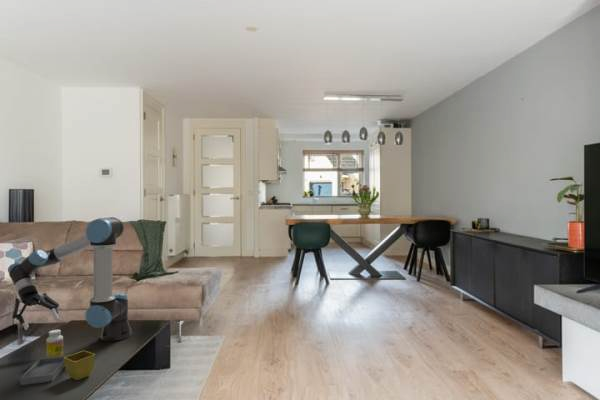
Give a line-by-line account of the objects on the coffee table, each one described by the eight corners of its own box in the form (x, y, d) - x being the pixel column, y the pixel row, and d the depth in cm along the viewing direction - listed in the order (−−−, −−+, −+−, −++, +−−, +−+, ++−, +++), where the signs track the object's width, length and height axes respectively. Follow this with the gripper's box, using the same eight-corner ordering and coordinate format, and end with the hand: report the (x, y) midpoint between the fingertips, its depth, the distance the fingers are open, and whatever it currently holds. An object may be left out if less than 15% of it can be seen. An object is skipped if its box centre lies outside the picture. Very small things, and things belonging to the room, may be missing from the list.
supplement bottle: (55, 362, 180) (54, 334, 180) (43, 361, 181) (42, 333, 181) (66, 356, 186) (66, 329, 186) (54, 355, 188) (54, 328, 188)
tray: (68, 361, 180) (68, 355, 180) (52, 381, 160) (52, 374, 160) (39, 364, 177) (39, 358, 177) (20, 385, 157) (20, 378, 157)
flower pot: (74, 384, 158) (74, 361, 158) (63, 379, 162) (62, 357, 162) (96, 375, 165) (95, 354, 165) (84, 370, 170) (84, 350, 170)
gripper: (50, 289, 208) (66, 321, 201) (-6, 299, 187) (10, 336, 179) (55, 280, 205) (72, 312, 198) (-1, 289, 184) (16, 326, 176)
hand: (42, 324), depth 188 cm, fingers open, 13 cm apart
